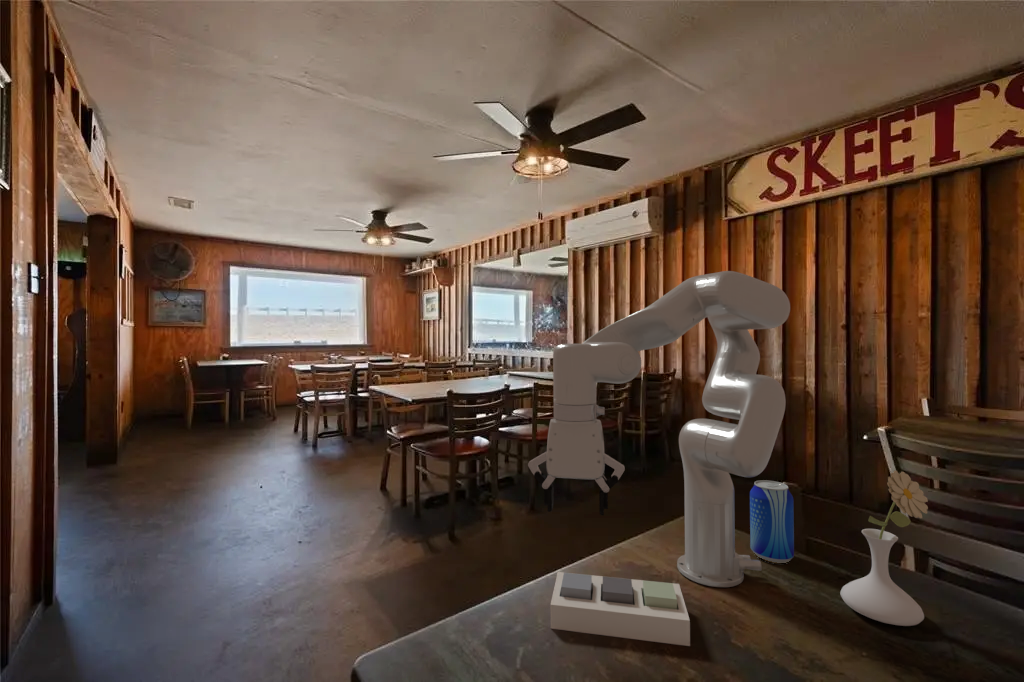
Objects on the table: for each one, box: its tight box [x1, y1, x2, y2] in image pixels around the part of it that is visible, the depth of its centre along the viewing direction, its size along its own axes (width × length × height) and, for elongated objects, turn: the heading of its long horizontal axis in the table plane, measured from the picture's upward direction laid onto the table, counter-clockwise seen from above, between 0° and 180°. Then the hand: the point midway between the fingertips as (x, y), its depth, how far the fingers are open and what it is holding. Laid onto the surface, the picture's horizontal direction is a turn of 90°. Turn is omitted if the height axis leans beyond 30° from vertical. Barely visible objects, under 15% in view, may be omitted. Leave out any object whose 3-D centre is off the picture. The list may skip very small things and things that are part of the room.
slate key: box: [561, 572, 593, 600], centre depth 80 cm, size 5×5×3 cm
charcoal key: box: [602, 576, 633, 605], centre depth 78 cm, size 5×5×3 cm
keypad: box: [550, 571, 691, 647], centre depth 78 cm, size 22×11×4 cm, turn 78°
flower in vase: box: [839, 470, 929, 627], centre depth 79 cm, size 13×11×25 cm
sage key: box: [643, 580, 677, 609], centre depth 77 cm, size 5×5×3 cm
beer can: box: [749, 479, 795, 564], centre depth 100 cm, size 8×8×16 cm
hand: (575, 510), depth 80 cm, fingers open, 8 cm apart
